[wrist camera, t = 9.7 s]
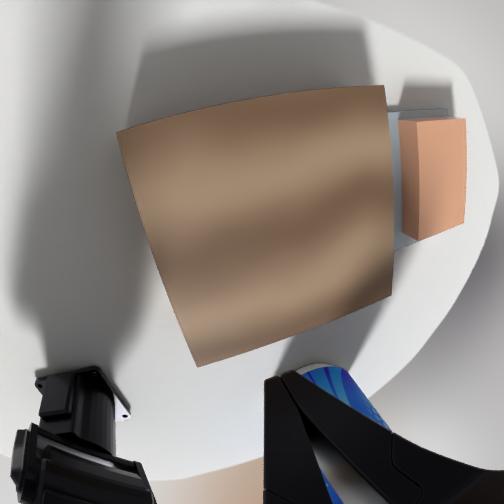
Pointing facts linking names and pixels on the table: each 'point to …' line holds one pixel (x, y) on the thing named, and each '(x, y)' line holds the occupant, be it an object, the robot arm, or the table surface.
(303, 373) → the beer can
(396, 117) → the mat
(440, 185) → the peach rectangular block
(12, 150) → the table surface
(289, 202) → the brown box
